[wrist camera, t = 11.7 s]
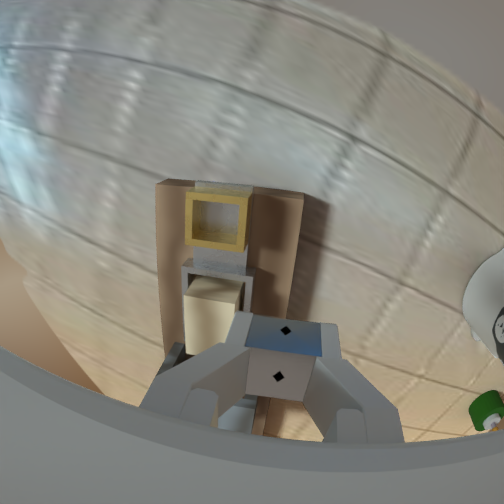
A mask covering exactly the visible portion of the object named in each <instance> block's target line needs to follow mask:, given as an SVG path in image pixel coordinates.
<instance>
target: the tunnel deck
mask: <svg viewBox="0 0 504 504" xmlns="http://www.w3.org/2000/svg"><path fill="white" fill-rule="evenodd" d="M195 182H196V181H192V180H179V179H167V180H164V181H162V182H160V183H157V184H156V246H157V268H158V285H159V299H160V312H161V323H162V333H163V343H164V352H165V360H164V362H163V364H162V366H161V367H160V369H159V371H158V373H157V375H159V374H161V373H163V372H165V371H167V370H169V369H171V368H173V367H175V366H177V365H178V364H180V363H182V362H184V361H186V360H188V359H190V358H192V357H193V356H195V355H191V354H187V353H186V343H185V341H184V332H183V309H182V275H181V266H182V265H183V263H184V262H185V261H186V260H187V259H188V258H193V246H190V245H185V203H186V191H188V190H189V189H191V188H193V187H195ZM303 203H304V193H301V192H294V191H286V190H279V189H270V188H262V187H254V194H253V206H252V217H251V228H250V240H249V251H248V262H247V267H254V268H256V274H255V284H254V294H253V304H252V313H253V314H254V313H256V314H262V315H268V316H274V317H280V318H286V313H287V307H288V301H289V295H290V289H291V283H292V277H293V271H294V265H295V258H296V252H297V245H298V238H299V232H300V225H301V218H302V210H303ZM196 276H197V274H194V279H195V277H196ZM245 286H246V282H244V287H243V299H242V311H243V309H244V298H245ZM157 375H156V376H157ZM156 376H155V377H156ZM154 379H155V378H154ZM153 381H154V380H153ZM269 402H270V397H266V396H258V395H250V394H245V396H243V397H242V398H241V399H240V400H239V401H238V402H237V403H236V404H234V405H233V406H232V407H231V408H230V409H229V410H227V411H226V412H225V413H224V414H223V415H222V416H220V417H219V418H218V428H220V429H225V430H231V431H236V432H242V433H248V434H254V435H261V436H262V435H263V430H264V426H265V421H266V416H267V412H268V407H269Z"/></svg>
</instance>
